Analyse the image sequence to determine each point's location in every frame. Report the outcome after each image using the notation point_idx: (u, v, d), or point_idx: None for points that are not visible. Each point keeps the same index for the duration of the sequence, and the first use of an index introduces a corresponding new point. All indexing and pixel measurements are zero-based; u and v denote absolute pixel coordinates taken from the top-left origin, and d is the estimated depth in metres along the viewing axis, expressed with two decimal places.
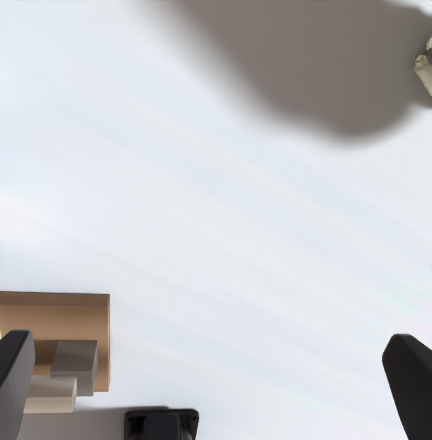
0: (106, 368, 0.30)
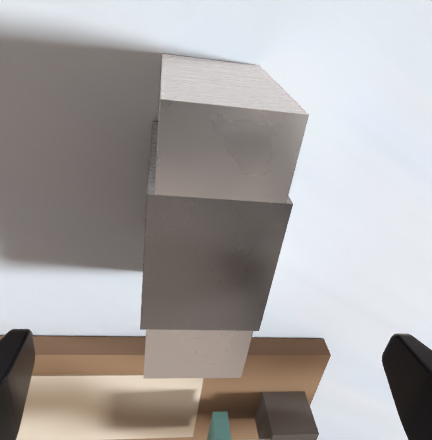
0: None
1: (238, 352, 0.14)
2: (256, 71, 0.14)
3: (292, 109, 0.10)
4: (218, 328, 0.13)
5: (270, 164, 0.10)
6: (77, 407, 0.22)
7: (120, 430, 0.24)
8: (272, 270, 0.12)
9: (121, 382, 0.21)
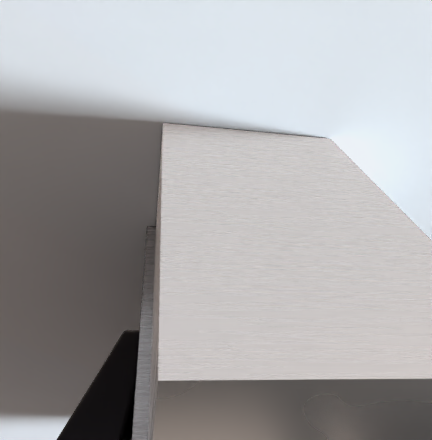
0: None
1: None
2: (334, 159, 0.08)
3: None
4: None
5: None
6: None
7: None
8: None
9: None
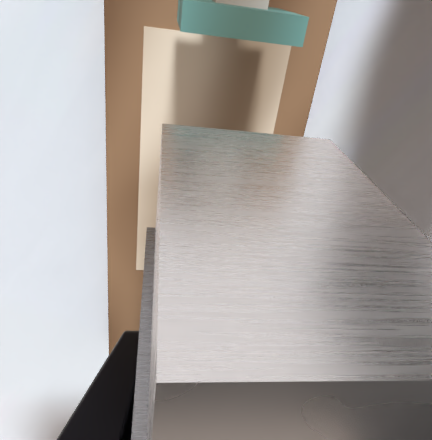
0: None
1: None
2: (334, 160, 0.07)
3: None
4: None
5: None
6: None
7: None
8: None
9: (153, 136, 0.18)
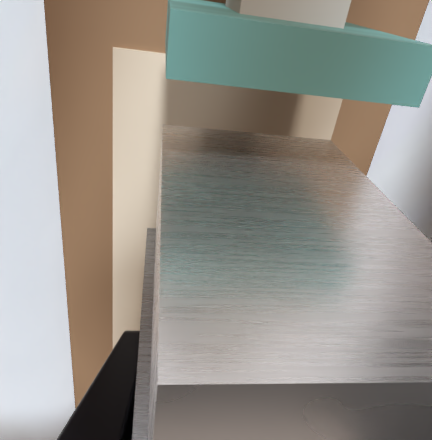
0: None
1: None
2: (334, 161, 0.07)
3: None
4: None
5: None
6: None
7: None
8: None
9: (132, 210, 0.12)
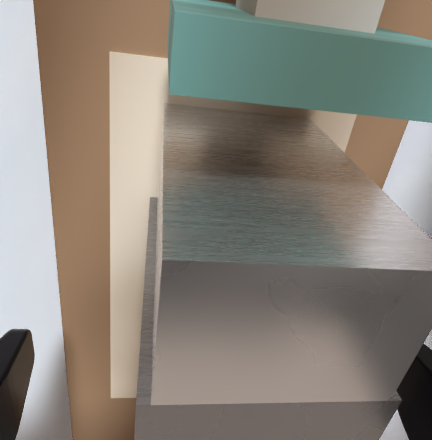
0: None
1: None
2: (311, 133, 0.09)
3: (424, 253, 0.05)
4: None
5: (373, 350, 0.05)
6: None
7: None
8: None
9: (131, 226, 0.11)
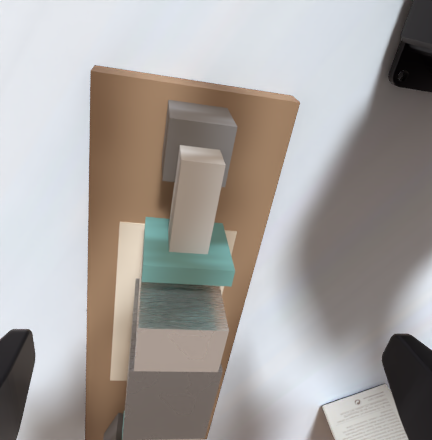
0: (239, 96, 0.17)
1: None
2: None
3: (220, 324, 0.16)
4: (176, 438, 0.19)
5: (207, 354, 0.17)
6: None
7: None
8: (211, 405, 0.18)
9: (126, 291, 0.22)
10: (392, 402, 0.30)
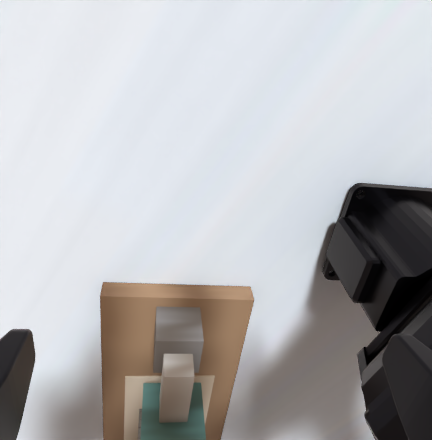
0: (208, 300, 0.24)
1: None
2: None
3: None
4: None
5: None
6: None
7: None
8: None
9: (132, 417, 0.29)
10: None
